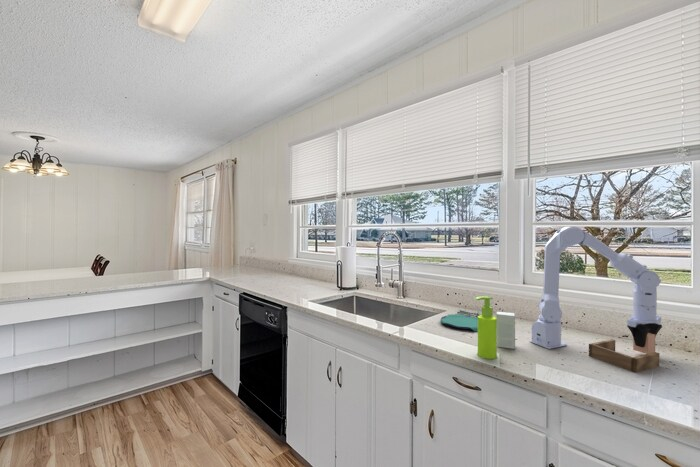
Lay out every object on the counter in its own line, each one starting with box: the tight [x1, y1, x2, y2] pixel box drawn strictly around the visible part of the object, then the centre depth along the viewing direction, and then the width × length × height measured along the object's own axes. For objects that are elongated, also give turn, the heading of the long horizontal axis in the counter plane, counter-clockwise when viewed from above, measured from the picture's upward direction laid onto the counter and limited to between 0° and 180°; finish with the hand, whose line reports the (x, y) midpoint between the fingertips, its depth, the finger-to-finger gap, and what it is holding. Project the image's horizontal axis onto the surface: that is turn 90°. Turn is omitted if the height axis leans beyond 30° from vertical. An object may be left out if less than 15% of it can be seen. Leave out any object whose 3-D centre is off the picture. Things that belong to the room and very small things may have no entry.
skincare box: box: [496, 311, 516, 350], centre depth 114 cm, size 6×4×12 cm
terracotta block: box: [632, 333, 656, 355], centre depth 105 cm, size 4×4×6 cm
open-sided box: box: [588, 338, 660, 373], centre depth 101 cm, size 12×13×4 cm
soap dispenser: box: [474, 295, 498, 360], centre depth 106 cm, size 6×7×20 cm
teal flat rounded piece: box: [439, 309, 482, 333], centre depth 144 cm, size 20×30×2 cm, turn 143°
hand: (644, 345), depth 105 cm, fingers closed on terracotta block, 4 cm apart
